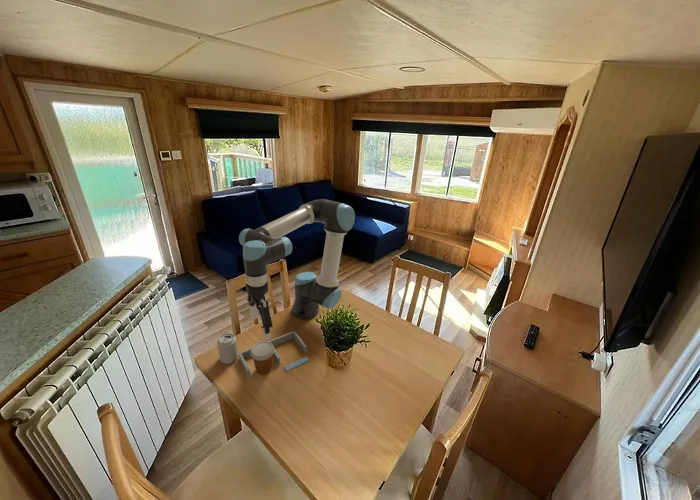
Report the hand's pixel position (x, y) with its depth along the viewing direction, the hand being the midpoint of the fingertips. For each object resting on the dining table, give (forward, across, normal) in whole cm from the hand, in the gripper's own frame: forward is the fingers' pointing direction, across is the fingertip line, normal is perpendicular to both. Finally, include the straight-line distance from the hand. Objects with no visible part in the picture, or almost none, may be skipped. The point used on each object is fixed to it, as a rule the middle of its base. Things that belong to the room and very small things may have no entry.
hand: (260, 328), depth 110 cm
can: (+23, -14, -10) cm, 29 cm away
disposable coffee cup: (+23, 0, 0) cm, 23 cm away
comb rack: (+22, -5, +7) cm, 24 cm away
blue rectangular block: (+22, +5, +13) cm, 27 cm away
